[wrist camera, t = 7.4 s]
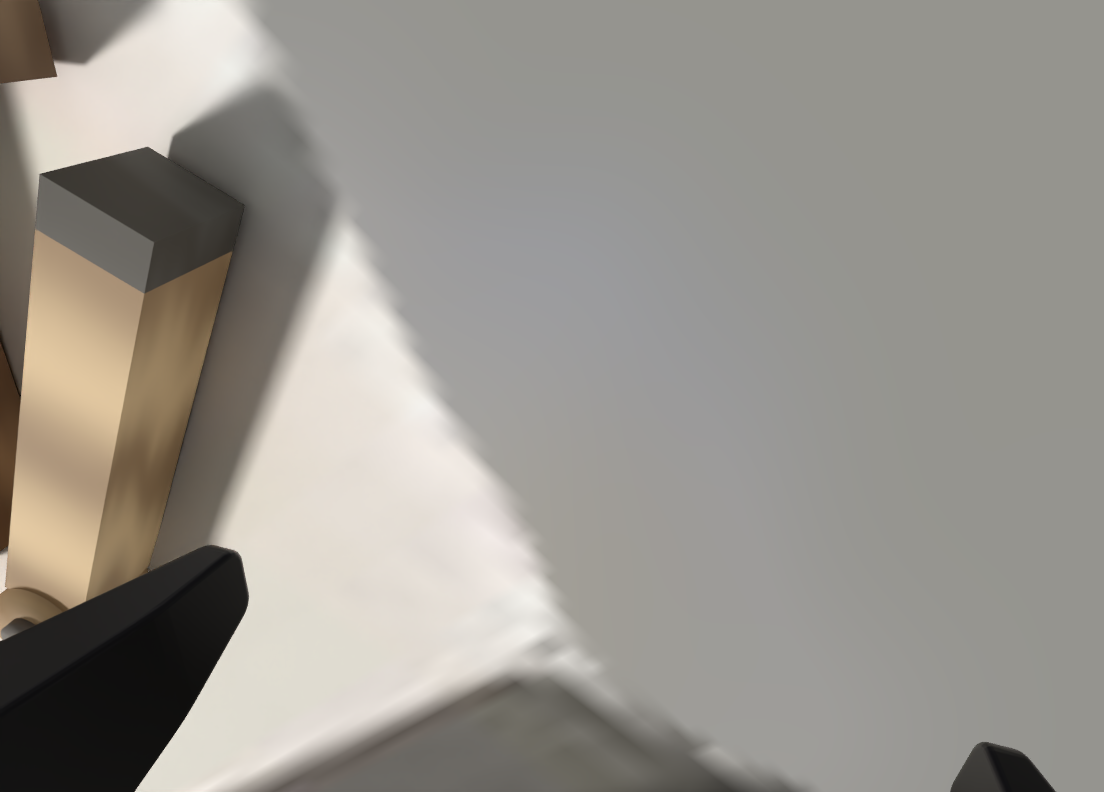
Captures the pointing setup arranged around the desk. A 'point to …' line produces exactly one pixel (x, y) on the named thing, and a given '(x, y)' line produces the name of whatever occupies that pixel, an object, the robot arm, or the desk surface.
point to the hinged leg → (108, 371)
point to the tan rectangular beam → (7, 56)
